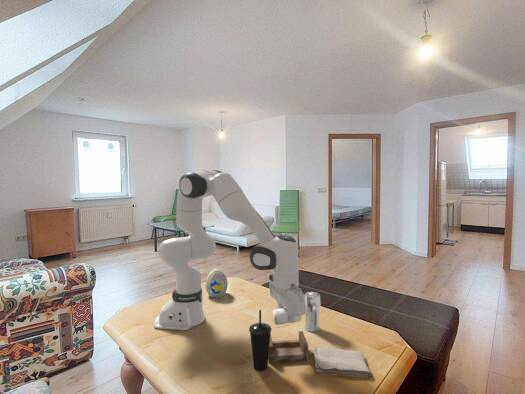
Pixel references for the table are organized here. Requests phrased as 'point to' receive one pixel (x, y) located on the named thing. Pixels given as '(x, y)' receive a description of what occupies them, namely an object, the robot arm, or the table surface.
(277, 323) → the roll
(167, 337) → the table surface
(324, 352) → the washcloth
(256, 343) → the drinking cup
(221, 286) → the decorative egg
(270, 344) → the cradle
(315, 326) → the silver tumbler
